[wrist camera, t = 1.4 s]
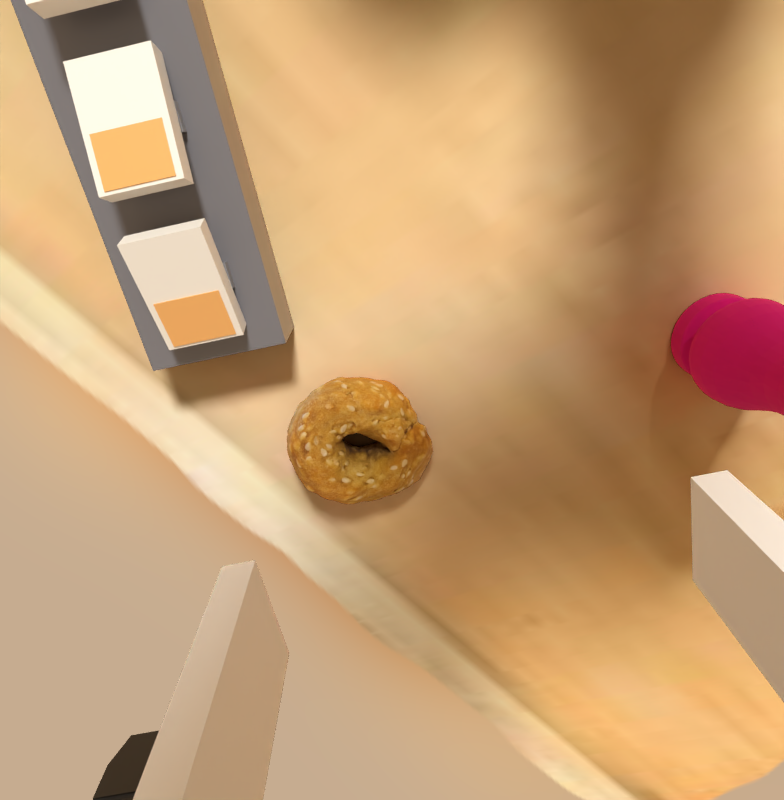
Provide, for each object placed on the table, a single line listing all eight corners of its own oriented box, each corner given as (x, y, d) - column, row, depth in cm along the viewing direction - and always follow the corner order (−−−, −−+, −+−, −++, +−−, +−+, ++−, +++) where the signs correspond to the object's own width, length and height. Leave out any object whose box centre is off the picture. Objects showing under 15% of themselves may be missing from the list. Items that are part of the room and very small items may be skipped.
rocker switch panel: (-4, -130, 32) (-63, -174, 28) (154, -171, 32) (119, -223, 27) (172, 352, 43) (149, 374, 38) (293, 326, 42) (284, 345, 38)
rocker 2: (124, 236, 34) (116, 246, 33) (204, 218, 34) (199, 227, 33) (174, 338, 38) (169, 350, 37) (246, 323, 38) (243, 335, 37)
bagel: (390, 512, 48) (391, 547, 44) (269, 450, 46) (257, 480, 42) (457, 415, 45) (465, 442, 41) (331, 344, 43) (325, 364, 39)
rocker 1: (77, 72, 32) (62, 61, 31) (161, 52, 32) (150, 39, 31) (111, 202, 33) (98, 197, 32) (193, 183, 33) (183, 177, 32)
